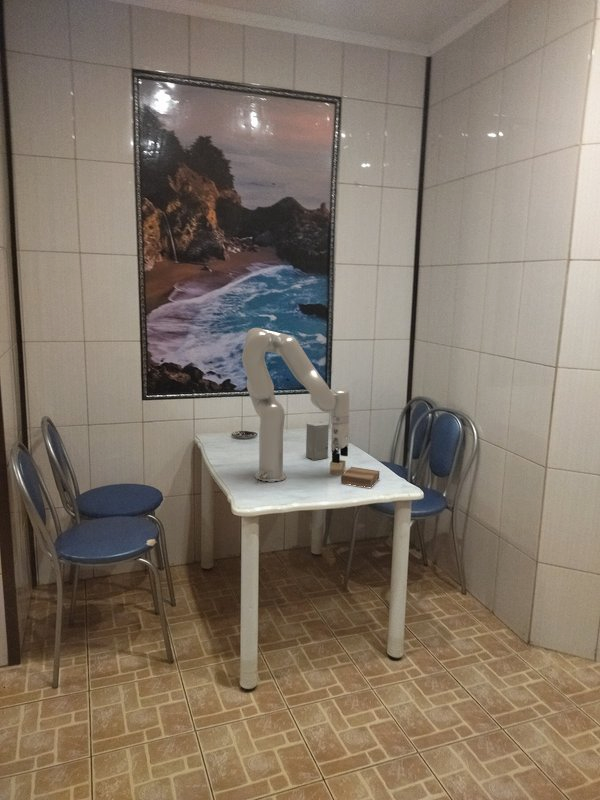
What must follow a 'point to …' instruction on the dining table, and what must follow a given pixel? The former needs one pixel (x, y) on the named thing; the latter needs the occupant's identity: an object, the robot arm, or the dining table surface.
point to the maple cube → (337, 467)
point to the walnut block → (360, 477)
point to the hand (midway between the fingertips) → (340, 459)
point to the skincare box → (317, 440)
